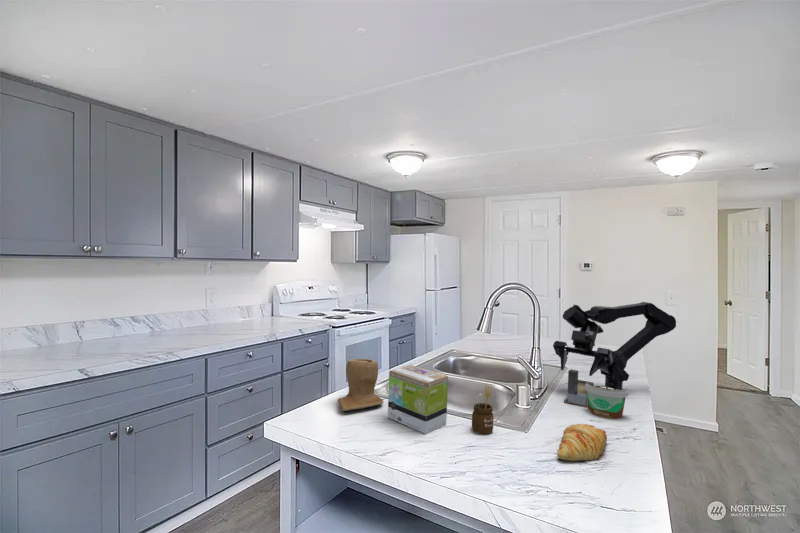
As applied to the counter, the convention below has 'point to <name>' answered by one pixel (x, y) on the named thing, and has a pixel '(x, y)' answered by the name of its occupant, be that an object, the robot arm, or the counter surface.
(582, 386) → the nut
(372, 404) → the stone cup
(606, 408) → the food container
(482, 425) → the utensil holder
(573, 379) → the block
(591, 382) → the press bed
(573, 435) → the croissant
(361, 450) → the counter surface
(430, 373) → the tea box
